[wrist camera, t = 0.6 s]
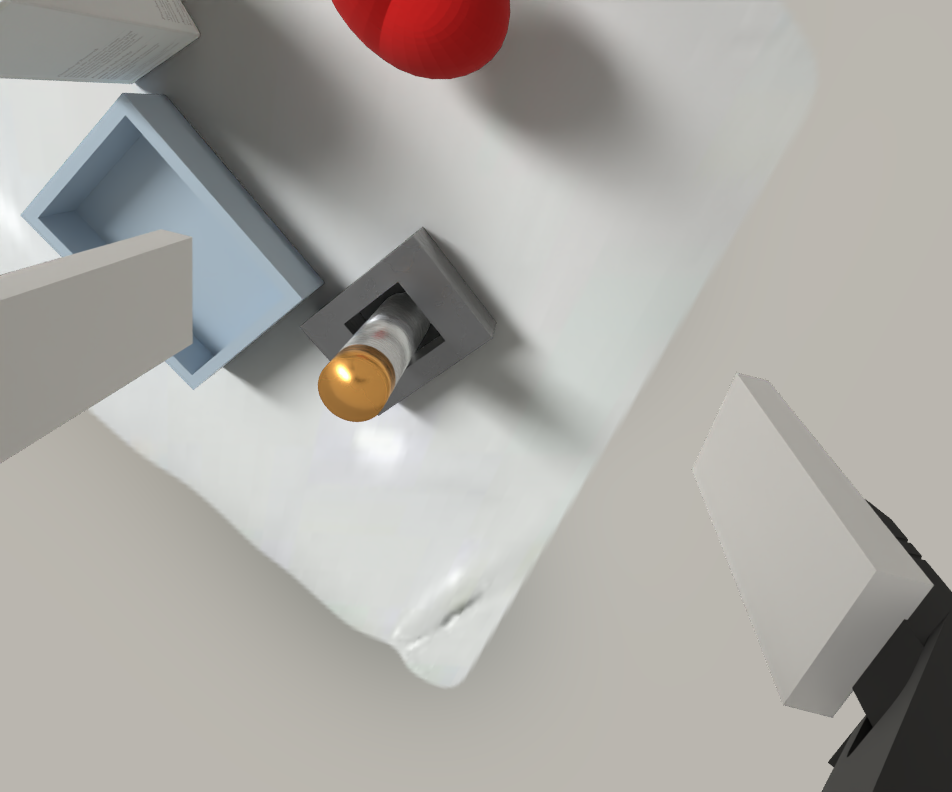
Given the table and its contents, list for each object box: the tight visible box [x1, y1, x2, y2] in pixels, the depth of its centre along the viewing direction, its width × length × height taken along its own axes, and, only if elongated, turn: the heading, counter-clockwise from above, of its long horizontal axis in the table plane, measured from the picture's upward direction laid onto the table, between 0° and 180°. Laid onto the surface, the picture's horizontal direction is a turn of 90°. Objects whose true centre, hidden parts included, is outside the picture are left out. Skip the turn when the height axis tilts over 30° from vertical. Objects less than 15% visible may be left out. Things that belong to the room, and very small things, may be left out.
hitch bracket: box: [300, 227, 496, 416], centre depth 40 cm, size 8×10×3 cm
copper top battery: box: [318, 293, 430, 422], centre depth 36 cm, size 4×4×12 cm
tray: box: [21, 93, 324, 390], centre depth 39 cm, size 15×11×4 cm
